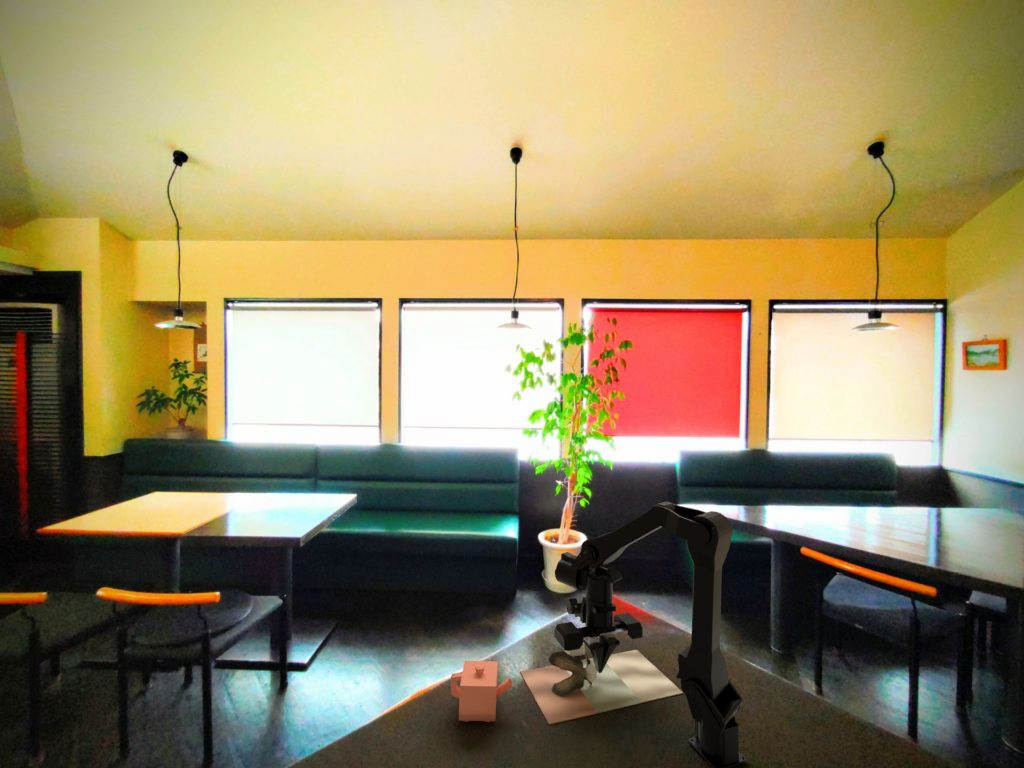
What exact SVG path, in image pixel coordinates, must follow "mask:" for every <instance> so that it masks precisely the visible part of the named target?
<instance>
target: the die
mask: <svg viewBox="0 0 1024 768" xmlns="http://www.w3.org/2000/svg"><path fill="white" fill-rule="evenodd" d="M561 649H562V651H563V652H566V653H567V654H569V655H571V656H573V657H574V658H576V657H579V656H584V655H585V656H586V645H585V643H584V642H583V645H582V646H581V648H580V649H576V650H571V651H566V650H564V649H563V647H562V646H561Z"/></svg>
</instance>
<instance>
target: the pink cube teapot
mask: <svg viewBox="0 0 1024 768" xmlns="http://www.w3.org/2000/svg"><path fill="white" fill-rule="evenodd" d="M462 668H463V669H462V672H460V671H459V672H456V673H455V672H454V673H451V676H450V695H451V696H452V697H455V698H456V699H458V700H459V702H458V703H459V704H458V721H462V722H465V723H466V722H467V723H468V722H484V723H485V722H486V723H491V722H496V716H497V715H496V714H497V698H498V697H500V696H501V695H503V694H505V693H506V692H507V691H509V690H510V689H512V688H513V687H514V682H513V680H512V678H510V677H508V678H507V679H506V680H504V681H503V682H502V683H500V684H499V685H498V661H497V660H495V661H494V660H464V662H463V667H462ZM458 681H460V683H459V686H458Z"/></svg>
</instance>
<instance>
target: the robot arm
mask: <svg viewBox="0 0 1024 768" xmlns="http://www.w3.org/2000/svg"><path fill="white" fill-rule="evenodd" d="M661 528H664V529H666V530H668V531H669V532H670V533H672V534H674V535H675V536H676V537H678V538H681V539H683V540H685V541H686V546H687V547H686V548H687V551H688V553H689V556H690V559H691V560H692V563H693V574H692V575H693V576H692V577H693V579H692V580H693V581H692V582H693V585H692V607H691V608H692V610H691V611H692V614H691V641H690V642H691V643H690V644H689V645H687V646H686V647H685V648H684V649H683V650H682V651H680V652H679V653H678V655H677V663H678V672H677V675H676V678H677V679H680V680H679V684H680V690H681V691H682V692H683V694H684V695H685V698H686V701H687V704H688V707H689V710H690V713H691V717H692V719H693V720H694V735H695V736H693V737H690V738H689V739H688V743H689V744H690V745H691V746H692V747H693V748H694V750H695V751H696V752H697V753H698V754H699V755H700V756H701V757H702V759H704V760H705V761H706V763H707V764H708V765H709V766H710V767H711V768H733V767H737V766H740V765H744V764H746V763H747V757H746V756H745V755H744V754H743V753H742V752H740V742H739V741H740V737H739V736H740V735H739V734H740V732H739V731H740V730H739V728H740V727H739V724H738V723H737V722H736V718H735V717H736V714H737V712H739V711H740V709H741V707H742V705H743V703H744V699H743V698H742V696H741V694H740V693H739V691H737V689H736V688H735V686H734V684H732V682H731V681H730V680H729V675H728V667H727V662H726V660H725V658H724V655H723V652H722V650H721V645H720V643H721V617H722V616H721V615H722V614H721V612H722V611H721V609H722V582H723V581H722V579H723V578H722V577H723V565H724V563H725V561H726V558H727V555H728V552H729V550H730V545H731V542H732V539H733V538H732V537H733V534H734V533H733V531H734V529H733V524H732V523H731V521H730V520H729V519H728V518H727V516H725V515H724V514H722V513H721V512H718V511H707V512H706V511H703V510H700V509H697V508H692V507H687V506H682V505H678V504H676V503H673V502H670V501H663V502H659V503H657V504H654V505H652V506H651V508H649V509H648V510H646V511H644V512H642V514H639V515H637V516H635V518H633V519H631V520H629V521H627V522H626V523H624V524H623V525H621V526H619V527H618V528H616V529H614V530H612V531H611V532H608V533H604V534H601V535H598V536H596V537H595V536H594V537H592V538H588V539H586V540H584V541H583V542H582V544H581V550H580V551H579V553H578V555H574V554H572V553H570V552H569V551H566V552H562V553H561V555H560V559H559V560H558V562H557V564H556V567H555V569H554V577H555V580H556V581H557V582H559V583H561V584H563V585H566V586H568V587H571V588H573V589H576V590H578V591H582V590H584V588H585V596H583V597H582V599H581V600H578V599H577V598H575V597H569V598H566V605H565V606H566V607H565V608H566V612H567V614H568V615H574V617H575V618H579V619H580V620H579V621H580V622H581V623H582V624H585V626H582V627H577V626H576V625H575V624H574V623H573V622H572V621H570V622H569V621H568V622H563V623H557V624H556V625H555V626H554V630H553V631H554V634H553V637H554V639H556V641H557V642H558V644H559V645H560V646H561V648H562V647H563V648H562V650H563V649H564V650H566V651H571V650H576V649H580V648H581V646H582V645H583V642H584V643H585V647H587V649H589V652H590V654H591V658H593V661H594V664H595V666H596V670H597V672H598V673H602V671H603V669H604V667H605V665H606V663H607V661H608V659H609V657H610V656H611V654H614V651H615V649H617V647H619V646H620V645H621V641H620V640H619V639H618V638H617V633H622V632H627V636H628V637H629V638H630V639H631V640H636V639H641V638H642V639H643V638H644V627H643V624H642V622H641V621H639V619H636V617H634V616H633V615H632V614H631V613H629V612H624V613H620V614H615V615H613V612H616V611H617V606H616V605H615V604H614V602H613V589H614V588H613V584H614V583H616V582H617V581H620V580H622V578H623V576H622V575H621V573H620V572H619V571H617V570H616V568H615V567H614V566H612V567H610V568H605V567H603V566H605V565H607V564H610V563H611V562H614V561H615V560H617V558H618V557H620V556H621V555H622V554H623V553H624V551H625V550H626V549H627V548H628V547H629V546H630V545H632V544H633V543H636V542H638V541H639V540H642V539H643V538H645V537H646V536H649V535H650V534H652V533H654V532H655V531H658V530H659V529H661ZM564 650H563V651H564Z"/></svg>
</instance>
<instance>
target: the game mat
mask: <svg viewBox="0 0 1024 768" xmlns="http://www.w3.org/2000/svg"><path fill="white" fill-rule="evenodd" d="M589 659H590V661H591V663H590V664H593V665H594V666H595V664H594V661H593V658H592V657H591V658H590V657H589ZM580 660H581V661H582V662H583V668H585V667H586V665H587V662H586V658H585V659H580ZM519 673H520V675H521V677H522V678H523V680H524V681H525V682H524V683H525V684H526V685H527V687H528V689H529V691H530V694H532V697H533V698H534V700H535V702H536V704H537V706H538V707H539V709H540V710H541V713H542V715H543V717H544V718H545V721H546V722H547V724H548V725H550V726H551V725H554V724H558V723H564V722H567V721H572V720H575V719H580V718H584V717H589V716H592V715H596V714H601V713H605V712H610V711H614V710H618V709H623V708H626V707H627V708H628V707H632V706H635V705H639V704H643V703H648V702H653V701H657V700H661V699H665V698H671V697H674V696H678V695H683V694H684V693H683V692H682V689H681V688H679V687H678V686H677V685H675V683H674V682H673V681H672V680H670V679H669V678H668V677H667V676H666V675H665V674H664V673H663V672H662V671H660V670H659V668H657V667H656V665H654V664H653V663H652V662H651V661H649V660H648V659H647V657H645V656H644V654H642V653H641V652H640V651H639V650H638V649H633V650H628V651H627V650H626V651H622V652H616V653H612V654H611V656H610V657H609V659H608V661H607V663H606V665H605V667H604V669H603V671H602V673H598V672H597V676H596V678H595V679H594V681H593V682H592V685H591V684H589V682H588V681H587V680H584V686H583V687H582V688H581V689H579V690H578V689H577V690H575V691H573V692H572V693H569V694H568V695H566V696H565V695H564V696H560V695H558V694H555V693H554V692H552V690H551V689H552V686H553V684H554V683H558V682H560V681H562V680H564V679H566V678H568V677H569V676H570V675H571V674H572V672H570V671H567V670H562V669H560V668H558V667H556V666H553V665H546V666H542V667H538V668H532V669H531V668H530V669H526V670H521V671H519Z"/></svg>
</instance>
